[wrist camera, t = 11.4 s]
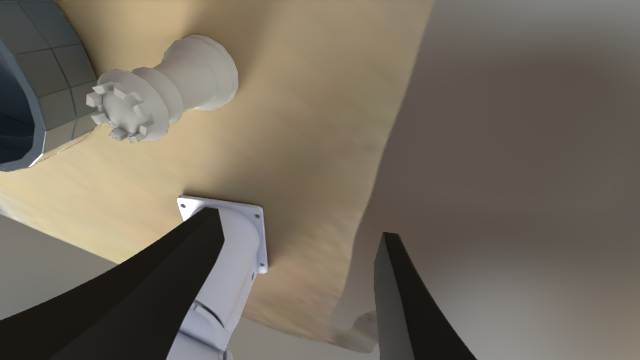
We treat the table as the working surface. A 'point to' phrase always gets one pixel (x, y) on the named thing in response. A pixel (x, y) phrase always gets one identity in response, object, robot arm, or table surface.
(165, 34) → the table surface
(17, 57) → the bowl
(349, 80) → the table surface
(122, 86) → the rook chess piece
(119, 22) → the table surface
